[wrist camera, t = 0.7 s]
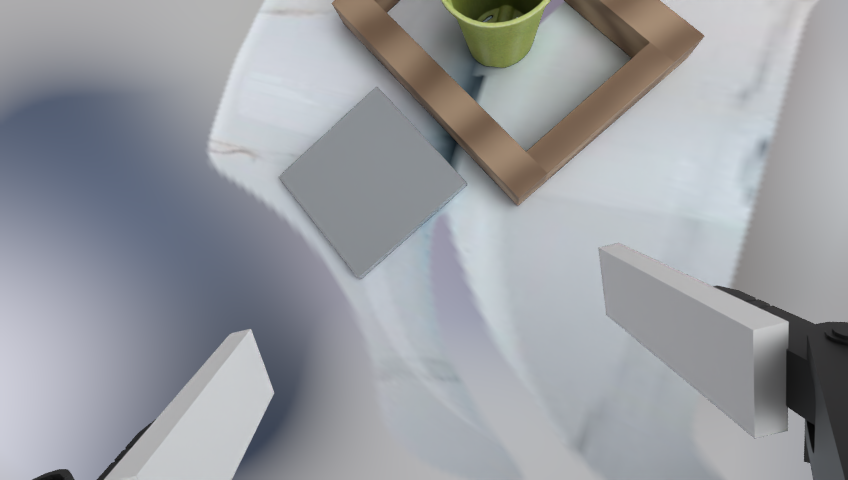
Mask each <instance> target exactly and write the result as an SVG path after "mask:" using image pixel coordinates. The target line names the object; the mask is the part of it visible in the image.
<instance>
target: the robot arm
mask: <svg viewBox="0 0 848 480" xmlns="http://www.w3.org/2000/svg"><path fill="white" fill-rule="evenodd" d="M599 256H600V265H601V274H602V282H603V291H604V299H605V308H606V315H607V316H608V317H610V318H611V319H612V320H613V321H614V322H616V323H617V324H618V325H619V326H620V327H622V328H623V329H624V330H625V331H626V332H628V333H629V334H630V335H631V336H632V337H634V338H635V339H636V340H637V341H638V342H640V343H641V344H642V345H643V346H644V347H646V348H647V349H648V350H649V351H650V352H652V353H653V354H654V355H655V356H656V357H658V358H659V359H660V360H661V361H662V362H664V363H665V364H666V365H667V366H668V367H670V368H671V369H672V370H673V371H674V372H676V373H677V374H678V375H679V376H680V377H682V378H683V379H684V380H685V381H686V382H688V383H689V384H690V385H691V386H692V387H693V388H695V389H696V390H697V391H698V392H699V393H701V394H702V395H703V396H704V397H706V398H707V399H708V400H709V401H710V402H712V403H713V404H714V405H715V406H716V407H718V408H719V409H720V410H721V411H722V412H723V413H725V414H726V415H727V416H728V417H730V418H731V419H732V420H733V421H734V422H735V423H737V424H738V425H739V426H740V427H741V428H743V429H744V430H745V431H746V432H747V433H749V434H750V435H751V436H752V437H753V438H760V437H764V436H768V435H772V434H776V433H780V432H785V431H787V430H788V407H789V408H790V409H791V410H793V411H794V412H796V413H798V414H799V415H800V416H802V417H803V418H805V446H804V462H808V463H810V464H811V470H812V475H813V480H848V323H847V322H826V323H820V324H813V323H811V322H809V321H807V320H804V319H802V318H800V317H798V316H795V315H793V314H791V313H789V312H786V311H784V310H782V309H779V308H777V307H775V306H770V305H769V304H768V303H766V302H764V301H761V300H756V299H755V298H754V297H752V296H750V295H747V294H745V293H743V292H741V291H739V290H734V289H730V288H725V287H721V286H710V285H708V284H706V283H704V282H702V281H700V280H698V279H695V278H693V277H691V276H689V275H687V274H685V273H682V272H680V271H678V270H676V269H674V268H672V267H669V266H667V265H665V264H663V263H661V262H659V261H657V260H654V259H652V258H650V257H648V256H646V255H644V254H641V253H639V252H637V251H635V250H633V249H631V248H628V247H626V246H624V245H622V244H620V243H616V244H612V245H608V246H603V247H599ZM273 394H274V391H273V388H272V385H271V383H270V380H269V377H268V374H267V372H266V369H265V366H264V363H263V361H262V358H261V355H260V353H259V350H258V347H257V345H256V342H255V339H254V336H253V334H252V331H251V329H248V330H244V331H240V332H235V333H231V334H230V335H229V336H228V337H227V338H226V339H225V341H224V342H223V343H222V344H221V345H220V346H219V348H218V349H217V350H216V351H215V352H214V353H213V354H212V356H211V357H210V358H209V359H208V360H207V361H206V362H205V364H204V365H203V366H202V367H201V368H200V369H199V371H198V372H197V373H196V374H195V375H194V376H193V378H192V379H191V380H190V381H189V382H188V383H187V384H186V385H185V387H184V388H183V389H182V390H181V391H180V392H179V394H178V395H177V396H176V397H175V398H174V399H173V401H172V402H171V403H170V404H169V405H168V406H167V408H166V409H165V410H164V411H163V412H162V413H161V414H160V416H159V417H158V418H157V419H155V420H154V421H153V422H152V423H150V424H149V425H148V426H146V427H145V428H144V429H143V430H142V431H140V432H139V433H138V434H137V435H136V436H135V437H134V438H133V440H132V441H131V442H130V443H129V444H128V445H127V447H126V450H123V451H122V452H121V453H120V454H119V456H117V458H116V459H115V462H113V463H111V464H110V465H109V467H108V468H107V469H106V470H105V471H104V472H103V473H102V475H101V476H100V477H99V478H98V479H97V480H232V478H233V476H234V473H235V472H236V469H237V468H238V465H239V464H240V461H241V459H242V457H243V455H244V453H245V451H246V449H247V447H248V445H249V443H250V441H251V439H252V437H253V435H254V433H255V431H256V429H257V427H258V425H259V423H260V421H261V419H262V417H263V415H264V413H265V410H266V408H267V406H268V404H269V402H270V400H271V398H272V396H273ZM33 480H74V478H73V476H72V474H71V473H70V472H69V471H68V470H66V469H59V470H55V471H52V472H49V473H46V474H43V475H41V476H39V477H37V478H35V479H33Z"/></svg>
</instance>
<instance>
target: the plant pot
mask: <svg viewBox="0 0 848 480" xmlns="http://www.w3.org/2000/svg"><path fill="white" fill-rule="evenodd" d="M441 1H442V3H443V5H444V6H445V8H446V9H447V10H448V11H449V12H450V13H451V14H452V15H453V16H454V17H455V18H456V19H457V20H458V23H459V25H460V27H461V30H462V32H463V35H464V37H465V40H466V43H467V45H468V48H469V50H470V52H471V54H472V56H473V57H474V58H475V59H476V60H477V61H478V62H479V63H481V64H482V65H485V66H493V67H501V68H504V67H508V66H511V65H513V64H515V63H517V62H518V61H520V60H521V59H522V58H523V57H524V56H525V55H526V54H527V53H528V52H529V50H530V48H531V46H532V44H533V41H534V38H535V35H536V32H537V29H538V26H539V23H540V20H541V17H542V14H543V11H544V8H545V7H546V5H547V4H548V3H549V2H550V1H551V0H441ZM491 15H492V16H493V18H492V19H490V20H488V21H487V22H482V21H483V20H484V19H486V18H487V17H488V16H491ZM517 17H518V18H517Z"/></svg>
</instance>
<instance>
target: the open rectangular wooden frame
mask: <svg viewBox="0 0 848 480" xmlns="http://www.w3.org/2000/svg"><path fill="white" fill-rule="evenodd" d="M398 1H400V0H335V1H334V2H332V4H333V6H334V8H335V10H336V11H337V13H338V15H339V16H340V18H341V20H342V21H343V23H344V24H345V25H346V26H347V28H348V29H349V30H350V31H351V32H352V33H353V34H354V35H355V36H356V37H357V38H358V39H359V40H360V41H361V42H362V43H363V44H364V45H365V46H366V47H367V48H368V50H369V51H370V52H371V53H372V54H373V55H374V56H375V57H376V58H377V59H378V60H379V61H380V62H381V63H382V64H383V65H384V66H385V67H386V68H387V69H388V70H389V72H390V73H391V74H392V75H393V76H394V77H395V78H396V79H397V80H398V81H399V82H400V83H401V84H402V85H403V86H404V87H405V88H406V89H407V90H408V91H409V92H410V94H411V95H412V96H413V97H414V98H415V99H416V100H417V101H418V102H419V103H420V104H421V105H422V106H423V107H424V108H425V109H426V110H427V111H428V112H429V113H430V114H431V116H432V117H433V118H434V119H435V120H436V121H437V122H438V123H439V124H440V125H441V126H442V127H443V128H444V129H445V130H446V131H447V132H448V133H449V134H450V135H451V137H452V138H453V139H454V140H455V141H456V142H457V143H458V144H459V145H460V146H461V147H462V148H463V149H464V150H465V151H466V152H467V153H468V154H469V155H470V156H471V157H472V159H473V160H474V161H475V162H476V163H477V164H478V165H479V166H480V167H481V168H482V169H483V170H484V171H485V172H486V173H487V174H488V175H489V176H490V177H491V178H492V179H493V181H494V182H495V183H496V184H497V185H498V186H499V187H500V188H501V189H502V190H503V191H504V192H505V193H506V194H507V195H508V196H509V197H510V198H511V199H512V200H513V201H514V203H515V204H516V205H517V206H518V205H520V204H521V203H522V202H523V201H524V200H525V199H526V198H528V197H529V196H530V195H531V194H532V193H533V192H534V191H536V190H537V189H538V188H539V187H540V186H541V185H542V184H544V183H545V182H546V181H547V180H548V179H549V178H550V177H552V176H553V175H554V174H555V173H556V172H557V171H558V170H560V169H561V168H562V167H563V166H564V165H565V164H566V163H568V162H569V161H570V160H571V159H572V158H573V157H574V156H576V155H577V154H578V153H579V152H580V151H581V150H582V149H584V148H585V147H586V146H587V145H588V144H589V143H590V142H592V141H593V140H594V139H595V138H596V137H597V136H598V135H600V134H601V133H602V132H603V131H604V130H605V129H607V128H608V127H609V126H610V125H611V124H612V123H613V122H615V121H616V120H617V119H618V118H619V117H620V116H621V115H623V114H624V113H625V112H626V111H627V110H628V109H629V108H631V107H632V106H633V105H634V104H635V103H636V102H637V101H639V100H640V99H641V98H642V97H643V96H644V95H645V94H647V93H648V92H649V91H650V90H651V89H652V88H653V87H655V86H656V85H657V84H658V83H659V82H660V81H661V80H663V79H664V78H665V77H666V76H667V75H668V74H669V73H671V72H672V71H673V70H674V69H675V68H676V67H677V66H679V65H680V64H681V63H682V62H683V61H684V60H685V59H687V58H688V56H689V55H690V54H691V53H692V51H693V50H694V49H695V47H696V46H697V45H698V44H699V42H700V41H701V40H702V39H703V37H704V35H703V34H702V33H700V32H699V31H698V30H697V29H695V28H694V27H693V26H692V25H690V24H689V23H688V22H686V21H685V20H684V19H683V18H681V17H680V16H679V15H678V14H676V13H675V12H674V11H673V10H671V9H670V8H669V7H667V6H666V5H665V4H664V3H662V2H661V1H660V0H564V1H565V2H566V3H568V4H569V5H570V6H571V7H572V8H574V9H575V10H576V11H577V12H578V13H579V14H581V15H582V16H583V17H584V18H585V19H586V20H588V21H589V22H590V23H591V24H592V25H594V26H595V27H596V28H597V29H598V30H599V31H601V32H602V33H603V34H604V35H605V36H606V37H608V38H609V39H610V40H611V41H612V42H614V43H615V44H616V45H617V46H618V47H619V48H621V49H622V50H623V51H624V52H625V53H627V54H628V55H629V56H630V57H631V58H632V59H631V60H630V61H628V62H627V63H626V64H625V65H624V66H623V67H622V68H620V69H619V70H618V71H617V72H616V73H615V74H614V75H613V76H611V77H610V78H609V79H608V80H607V81H606V82H605V83H603V84H602V85H601V86H600V87H599V88H598V89H597V90H596V91H594V92H593V93H592V94H591V95H590V96H589V97H588V98H586V99H585V100H584V101H583V102H582V103H581V104H580V105H579V106H577V107H576V108H575V109H574V110H573V111H572V112H571V113H570V114H568V115H567V116H566V117H565V118H564V119H563V120H562V121H560V122H559V123H558V124H557V125H556V126H555V127H554V128H553V129H551V130H550V131H549V132H548V133H547V134H546V135H545V136H543V137H542V138H541V139H540V140H539V141H538V142H537V143H536V144H534V145H533V146H532V147H531V148H530V149H529V150H528V151H525V150H524V149H523V148H522V147H521V146H520V145H519V144H518V143H517V142H516V141H515V140H514V139H513V138H512V137H511V136H510V135H509V134H508V133H507V132H506V131H505V130H504V129H503V128H502V127H501V126H500V125H499V124H498V123H497V122H496V121H495V120H494V119H493V118H492V117H491V116H490V115H489V114H488V113H487V112H486V111H485V110H484V109H483V108H482V107H481V106H480V105H479V104H478V103H477V102H476V101H475V100H474V99H473V98H472V97H471V96H470V95H469V94H468V93H467V92H465V91H464V90H463V89H462V88H461V87H460V86H459V85H458V84H457V83H456V82H455V81H454V80H453V79H452V78H451V77H450V76H449V75H448V74H447V73H446V72H445V71H444V70H443V69H442V68H441V67H440V66H439V65H438V64H437V63H436V62H435V61H434V60H433V59H432V58H431V57H430V56H429V55H428V54H427V53H426V52H425V51H424V50H423V49H422V48H421V47H420V46H419V45H418V44H417V43H416V42H415V41H414V40H413V39H412V38H411V37H410V36H409V35H408V34H407V33H406V32H405V31H404V30H403V29H402V28H401V27H400V26H399V25H398V24H397V23H396V22H395V21H394V20H393V19H392V18H391V17H390V16H389V15H388V14H387V12H388V11H389V10H390V9H391V8H392V7H393V6H394V5H395V4H396V3H397V2H398Z"/></svg>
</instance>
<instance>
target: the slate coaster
mask: <svg viewBox="0 0 848 480" xmlns="http://www.w3.org/2000/svg"><path fill="white" fill-rule="evenodd" d="M279 178H280V180H281V181H282V182H283V184H284V185H285V186H286V187H287V189H288V190H289V191H290V192H291V194H292V195H293V196H294V198H295V199H296V200H297V201H298V203H299V204H300V205H301V206H302V208H303V209H304V210H305V212H306V213H307V214H308V215H309V217H310V218H311V219H312V220H313V222H314V223H315V224H316V225H317V227H318V228H319V229H320V231H321V232H322V233H323V234H324V236H325V237H326V238H327V239H328V241H329V242H330V243H331V245H332V246H333V247H334V248H335V250H336V251H337V252H338V253H339V255H340V256H341V257H342V259H343V260H344V261H345V262H346V264H347V265H348V266H349V267H350V269H351V270H352V271H353V273H354V274H355V275H356V276H357V278H361V279H362V278H363V277H364V276H365V275H366V274H367V273H368V272H370V271H371V270H372V269H373V268H374V267H375V266H376V265H378V264H379V263H380V262H381V261H382V260H383V259H384V258H385V257H387V256H388V255H389V254H390V253H391V252H392V251H393V250H394V249H396V248H397V247H398V246H399V245H400V244H401V243H402V242H403V241H405V240H406V239H407V238H408V237H409V236H410V235H411V234H412V233H414V232H415V231H416V230H417V229H418V228H419V227H420V226H421V225H423V224H424V223H425V222H426V221H427V220H428V219H429V218H431V217H432V216H433V215H434V214H435V213H436V212H437V211H438V210H440V209H441V208H442V207H443V206H444V205H445V204H446V203H447V202H449V201H450V200H451V199H452V198H453V197H454V196H455V195H456V194H458V193H459V192H460V191H461V190H462V189H463V188H464V187H465V186H467V183H466V181H465V180H464V179H463V178H462V177H461V176H460V175H459V174H458V173H457V172H456V171H455V170H454V169H453V167H452V166H451V165H450V164H449V163H448V162H447V161H446V160H445V159H444V158H443V157H442V156H441V155H440V153H439V152H438V151H437V150H436V149H435V148H434V147H433V146H432V145H431V144H430V143H429V142H428V141H427V140H426V138H425V137H424V136H423V135H422V134H421V133H420V132H419V131H418V130H417V129H416V128H415V127H414V126H413V125H412V123H411V122H410V121H409V120H408V119H407V118H406V117H405V116H404V115H403V114H402V113H401V112H400V111H399V109H398V108H397V107H396V106H395V105H394V104H393V103H392V102H391V101H390V100H389V99H388V98H387V97H386V96H385V94H384V93H383V92H382V91H381V90H380V89H379V88H378V87H375V88H374V89H373V90H372V91H371V92H370V93H369V94H368V95H367V96H366V97H365V98H364V99H362V100H361V101H360V102H359V103H358V104H357V105H356V106H355V107H354V108H353V109H352V110H351V111H349V112H348V113H347V114H346V115H345V116H344V117H343V118H342V119H341V120H340V121H339V122H338V123H336V124H335V125H334V126H333V127H332V128H331V129H330V130H329V131H328V132H327V133H326V134H325V135H323V136H322V137H321V138H320V139H319V140H318V141H317V142H316V143H315V144H314V145H313V146H312V147H311V148H309V149H308V150H307V151H306V152H305V153H304V154H303V155H302V156H301V157H300V158H299V159H298V160H296V161H295V162H294V163H293V164H292V165H291V166H290V167H289V168H288V169H287V170H286V171H285V172H283V173H282V174H281V175H280V176H279Z"/></svg>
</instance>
